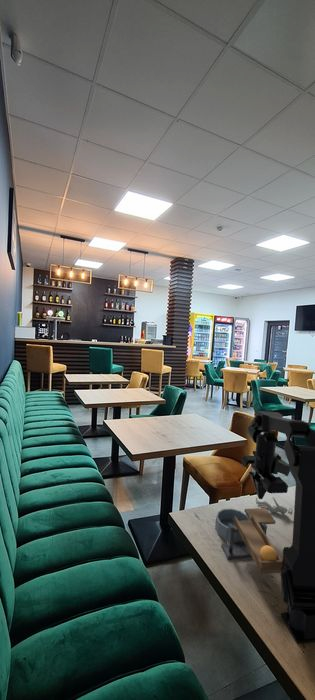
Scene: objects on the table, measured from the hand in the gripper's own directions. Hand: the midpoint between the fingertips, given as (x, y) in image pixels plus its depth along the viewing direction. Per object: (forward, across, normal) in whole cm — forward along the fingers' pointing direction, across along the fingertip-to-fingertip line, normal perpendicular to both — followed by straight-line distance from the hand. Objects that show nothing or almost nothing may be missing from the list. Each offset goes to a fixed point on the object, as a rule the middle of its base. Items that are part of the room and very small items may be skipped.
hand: (260, 498), depth 97 cm
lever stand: (+12, -7, +7) cm, 16 cm away
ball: (+4, -18, +7) cm, 20 cm away
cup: (+12, +2, +7) cm, 14 cm away
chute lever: (+6, -10, +4) cm, 12 cm away
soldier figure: (+12, +11, -12) cm, 20 cm away
